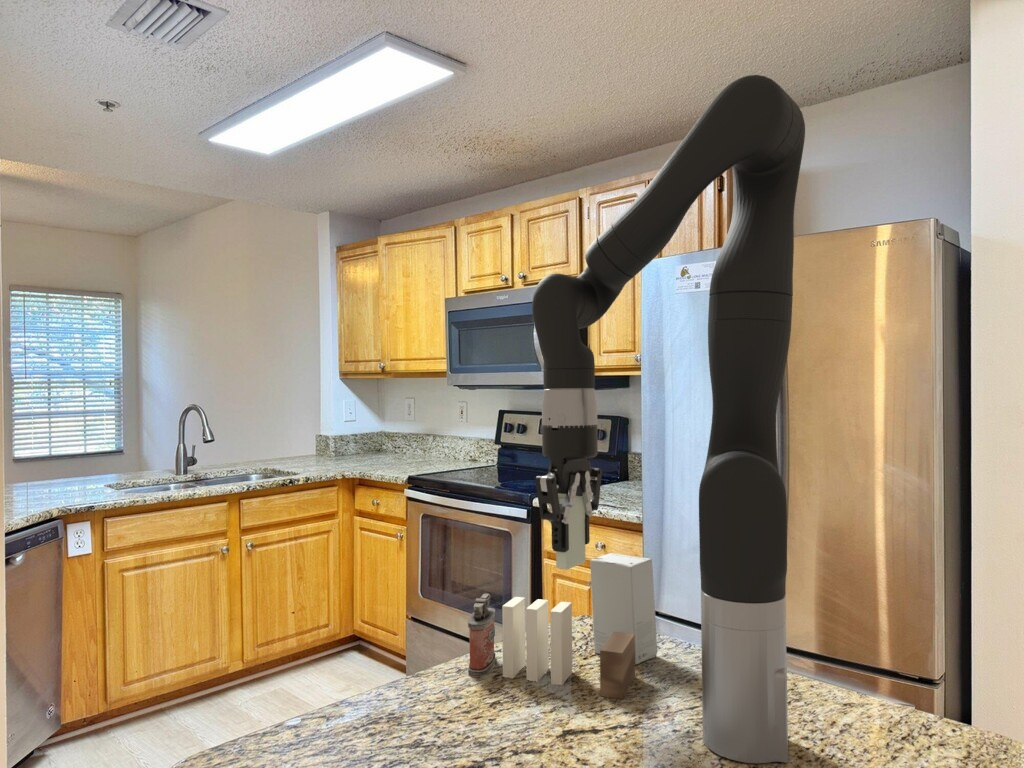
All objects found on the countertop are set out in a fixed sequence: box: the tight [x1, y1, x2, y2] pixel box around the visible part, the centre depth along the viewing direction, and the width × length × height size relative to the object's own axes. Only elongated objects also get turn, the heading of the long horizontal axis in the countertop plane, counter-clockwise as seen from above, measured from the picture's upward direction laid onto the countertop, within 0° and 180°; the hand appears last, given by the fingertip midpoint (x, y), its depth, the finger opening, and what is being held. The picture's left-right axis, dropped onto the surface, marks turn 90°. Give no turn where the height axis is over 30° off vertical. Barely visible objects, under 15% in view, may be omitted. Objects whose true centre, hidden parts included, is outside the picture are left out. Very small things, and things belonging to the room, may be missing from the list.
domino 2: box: [525, 598, 550, 683], centre depth 101 cm, size 2×5×10 cm, turn 158°
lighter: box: [467, 593, 497, 678], centre depth 105 cm, size 8×3×10 cm, turn 168°
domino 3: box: [555, 492, 587, 570], centre depth 96 cm, size 2×5×10 cm, turn 144°
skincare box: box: [589, 552, 658, 665], centre depth 109 cm, size 8×6×15 cm
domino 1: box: [501, 596, 526, 679], centre depth 103 cm, size 2×5×10 cm, turn 158°
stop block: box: [599, 632, 636, 700], centre depth 97 cm, size 3×8×6 cm, turn 159°
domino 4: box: [549, 601, 573, 686], centre depth 100 cm, size 2×5×10 cm, turn 158°
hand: (571, 546), depth 96 cm, fingers closed on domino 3, 5 cm apart
